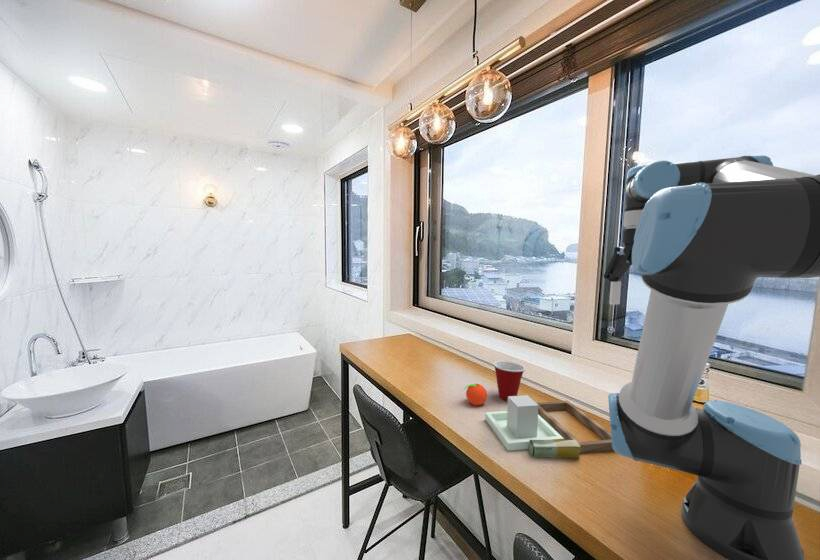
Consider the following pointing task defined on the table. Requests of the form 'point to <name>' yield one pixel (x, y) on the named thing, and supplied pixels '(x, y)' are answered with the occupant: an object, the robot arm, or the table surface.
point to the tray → (509, 440)
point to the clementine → (476, 394)
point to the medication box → (554, 448)
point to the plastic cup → (508, 378)
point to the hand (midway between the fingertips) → (634, 308)
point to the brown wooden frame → (585, 419)
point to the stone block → (522, 416)
